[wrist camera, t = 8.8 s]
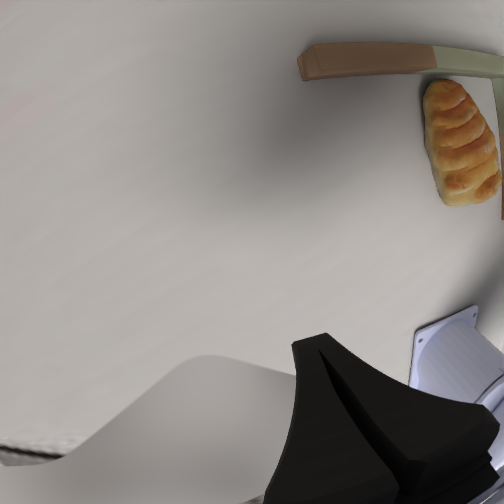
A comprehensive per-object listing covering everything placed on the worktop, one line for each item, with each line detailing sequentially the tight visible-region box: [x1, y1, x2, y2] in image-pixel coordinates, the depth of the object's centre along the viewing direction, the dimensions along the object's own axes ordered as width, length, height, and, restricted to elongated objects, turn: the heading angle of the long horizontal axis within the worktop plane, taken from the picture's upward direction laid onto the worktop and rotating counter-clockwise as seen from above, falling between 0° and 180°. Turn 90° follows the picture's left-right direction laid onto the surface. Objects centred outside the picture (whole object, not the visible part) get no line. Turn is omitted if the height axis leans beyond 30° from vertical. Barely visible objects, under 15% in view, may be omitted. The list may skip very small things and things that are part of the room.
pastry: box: [423, 79, 502, 207], centre depth 18 cm, size 9×7×4 cm
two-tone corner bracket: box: [297, 42, 504, 220], centre depth 18 cm, size 14×20×4 cm
